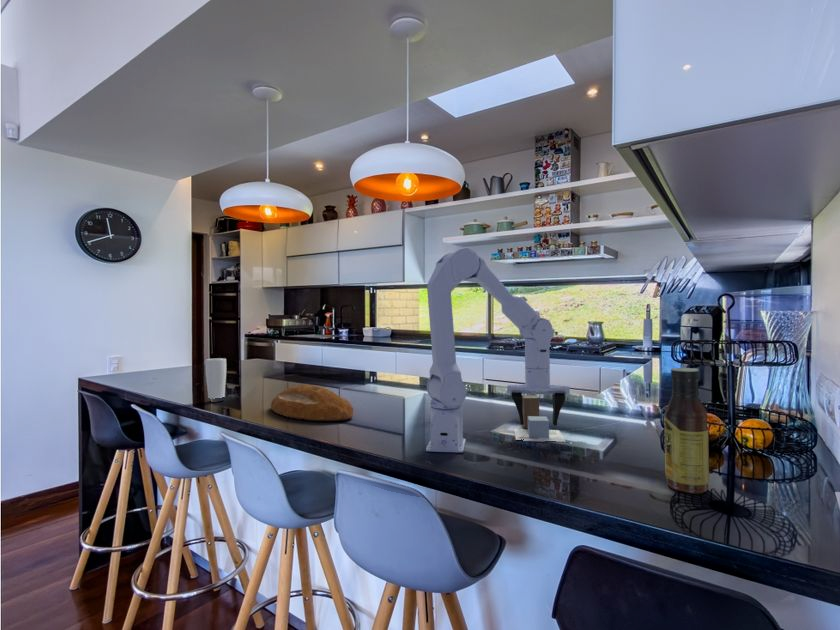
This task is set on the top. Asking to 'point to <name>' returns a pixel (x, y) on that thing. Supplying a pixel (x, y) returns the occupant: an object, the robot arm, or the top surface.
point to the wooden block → (530, 408)
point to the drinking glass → (215, 377)
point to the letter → (553, 436)
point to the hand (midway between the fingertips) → (538, 424)
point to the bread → (311, 404)
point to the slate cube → (538, 426)
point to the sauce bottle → (686, 435)
